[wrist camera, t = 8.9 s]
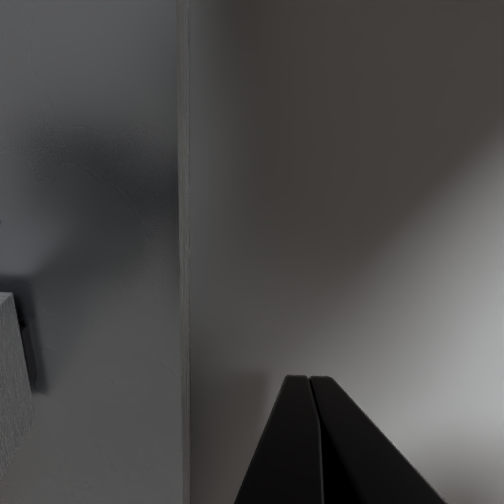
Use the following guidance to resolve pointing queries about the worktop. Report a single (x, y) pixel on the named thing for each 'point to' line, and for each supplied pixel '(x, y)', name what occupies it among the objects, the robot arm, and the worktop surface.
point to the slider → (12, 384)
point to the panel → (98, 246)
